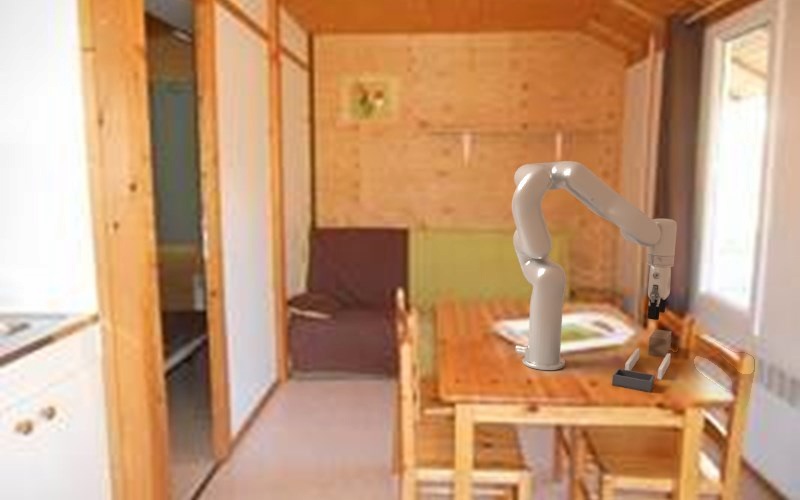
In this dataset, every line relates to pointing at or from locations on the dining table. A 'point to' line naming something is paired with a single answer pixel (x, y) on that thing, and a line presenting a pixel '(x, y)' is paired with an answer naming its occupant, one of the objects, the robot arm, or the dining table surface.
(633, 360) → the channel
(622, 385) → the bin
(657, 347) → the walnut block
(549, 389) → the dining table surface
